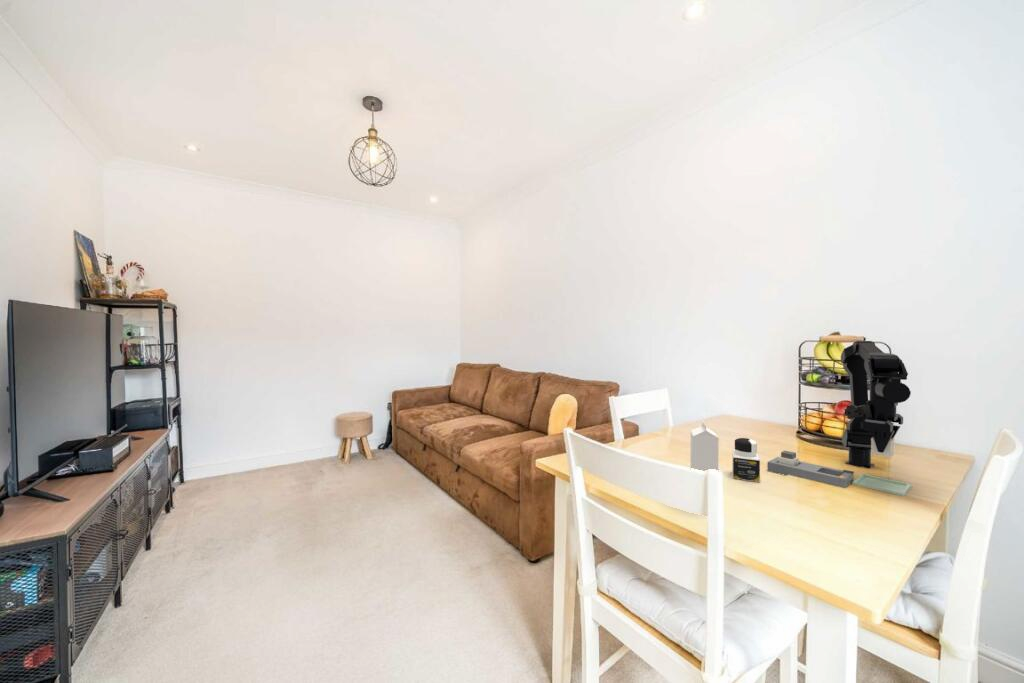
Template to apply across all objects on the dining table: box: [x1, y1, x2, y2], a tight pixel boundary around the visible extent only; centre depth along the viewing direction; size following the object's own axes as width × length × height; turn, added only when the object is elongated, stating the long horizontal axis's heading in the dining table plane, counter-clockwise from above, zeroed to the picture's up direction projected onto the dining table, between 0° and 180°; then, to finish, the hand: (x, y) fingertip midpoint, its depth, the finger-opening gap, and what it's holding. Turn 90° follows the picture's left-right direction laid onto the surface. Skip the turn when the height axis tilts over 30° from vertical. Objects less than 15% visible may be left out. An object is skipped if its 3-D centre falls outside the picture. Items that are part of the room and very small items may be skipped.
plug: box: [871, 437, 895, 459], centre depth 115 cm, size 4×4×6 cm
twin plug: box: [778, 450, 799, 467], centre depth 129 cm, size 4×4×6 cm
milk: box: [690, 419, 720, 471], centre depth 104 cm, size 6×6×22 cm
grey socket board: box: [767, 456, 855, 489], centre depth 124 cm, size 9×20×3 cm, turn 37°
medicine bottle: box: [731, 437, 761, 483], centre depth 124 cm, size 7×7×12 cm
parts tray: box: [852, 473, 913, 497], centre depth 115 cm, size 11×11×1 cm
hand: (882, 450), depth 115 cm, fingers closed on plug, 4 cm apart
